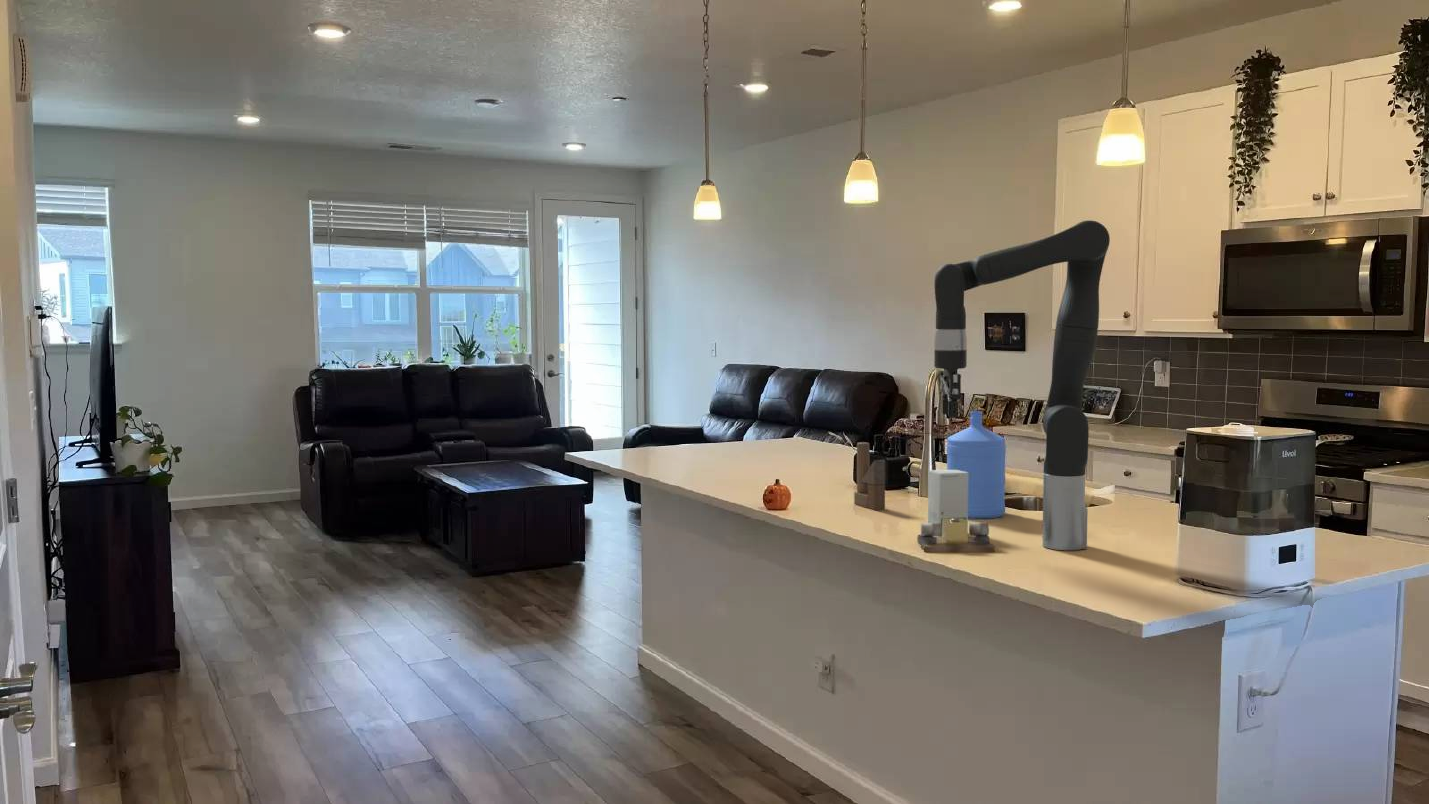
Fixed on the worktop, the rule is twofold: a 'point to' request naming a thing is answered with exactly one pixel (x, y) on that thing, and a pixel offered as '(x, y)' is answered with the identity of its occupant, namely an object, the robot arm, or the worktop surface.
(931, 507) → the skincare box
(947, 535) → the joint block
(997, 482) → the water jug
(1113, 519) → the worktop surface
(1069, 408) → the robot arm
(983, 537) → the rig
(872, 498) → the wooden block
